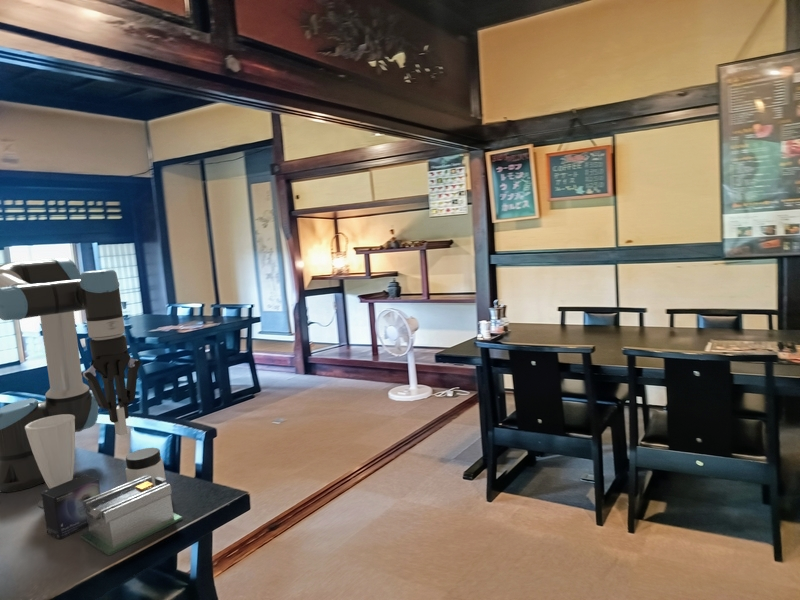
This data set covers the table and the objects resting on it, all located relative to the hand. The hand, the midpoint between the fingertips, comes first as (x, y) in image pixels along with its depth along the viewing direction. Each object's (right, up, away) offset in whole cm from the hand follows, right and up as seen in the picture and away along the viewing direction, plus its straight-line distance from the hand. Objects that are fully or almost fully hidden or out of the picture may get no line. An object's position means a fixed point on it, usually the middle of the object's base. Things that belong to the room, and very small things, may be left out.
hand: (121, 433), depth 128 cm
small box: (-11, -23, +1) cm, 26 cm away
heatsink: (+4, -22, -2) cm, 22 cm away
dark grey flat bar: (+2, -15, -4) cm, 16 cm away
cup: (-25, -22, +18) cm, 38 cm away
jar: (0, -20, +13) cm, 24 cm away
